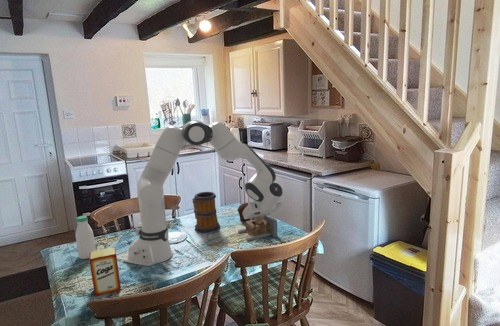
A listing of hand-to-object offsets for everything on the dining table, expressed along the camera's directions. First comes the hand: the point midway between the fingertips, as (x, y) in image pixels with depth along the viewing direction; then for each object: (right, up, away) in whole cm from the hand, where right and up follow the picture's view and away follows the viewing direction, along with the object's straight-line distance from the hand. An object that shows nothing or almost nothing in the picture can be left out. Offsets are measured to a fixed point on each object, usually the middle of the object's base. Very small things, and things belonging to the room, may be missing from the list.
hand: (257, 217), depth 181 cm
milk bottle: (-83, -16, -16) cm, 86 cm away
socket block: (0, -9, +1) cm, 9 cm away
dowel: (+1, -7, +1) cm, 7 cm away
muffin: (-6, -5, +21) cm, 22 cm away
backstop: (-1, -9, +1) cm, 9 cm away
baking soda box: (-61, -22, -45) cm, 79 cm away
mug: (-30, -8, +13) cm, 33 cm away
